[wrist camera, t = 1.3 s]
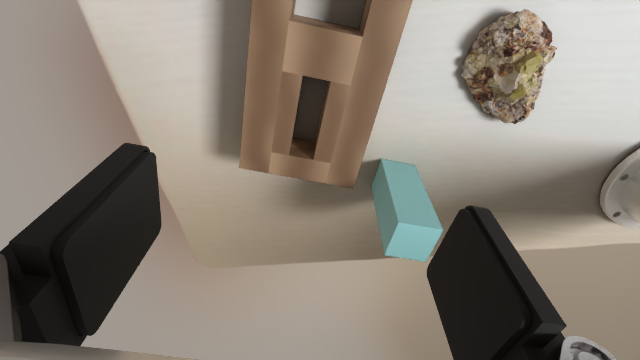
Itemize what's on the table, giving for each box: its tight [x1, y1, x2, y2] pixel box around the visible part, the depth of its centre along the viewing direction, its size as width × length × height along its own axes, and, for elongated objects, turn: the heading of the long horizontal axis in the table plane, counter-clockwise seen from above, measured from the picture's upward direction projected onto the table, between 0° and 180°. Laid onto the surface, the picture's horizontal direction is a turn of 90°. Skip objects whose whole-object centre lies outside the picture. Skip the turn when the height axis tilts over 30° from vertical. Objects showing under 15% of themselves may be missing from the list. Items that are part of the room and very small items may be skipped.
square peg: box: [371, 159, 443, 262], centre depth 33 cm, size 4×4×11 cm
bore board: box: [239, 0, 412, 188], centre depth 29 cm, size 12×24×4 cm, turn 169°
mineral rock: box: [461, 9, 557, 124], centre depth 31 cm, size 11×4×8 cm
